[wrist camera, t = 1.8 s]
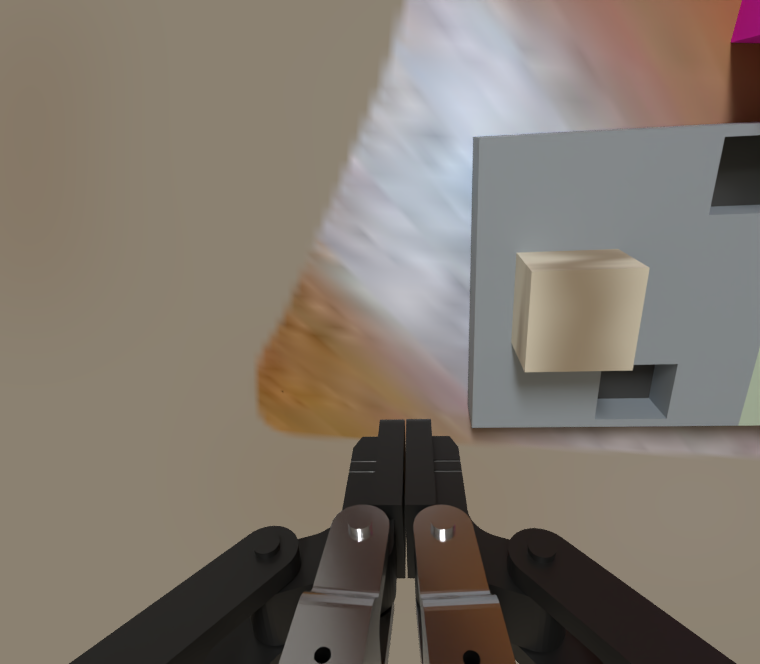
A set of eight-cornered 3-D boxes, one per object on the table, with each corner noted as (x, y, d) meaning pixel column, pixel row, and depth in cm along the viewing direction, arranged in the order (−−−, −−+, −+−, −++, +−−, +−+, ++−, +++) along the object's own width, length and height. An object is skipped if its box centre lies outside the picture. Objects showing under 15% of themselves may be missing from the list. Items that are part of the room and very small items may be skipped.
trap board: (937, 112, 23) (1051, 109, 19) (834, 401, 30) (903, 446, 25) (473, 137, 25) (485, 139, 21) (467, 405, 31) (476, 448, 27)
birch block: (618, 248, 24) (649, 267, 21) (605, 340, 26) (632, 370, 23) (516, 252, 25) (531, 271, 21) (511, 342, 27) (524, 372, 23)
